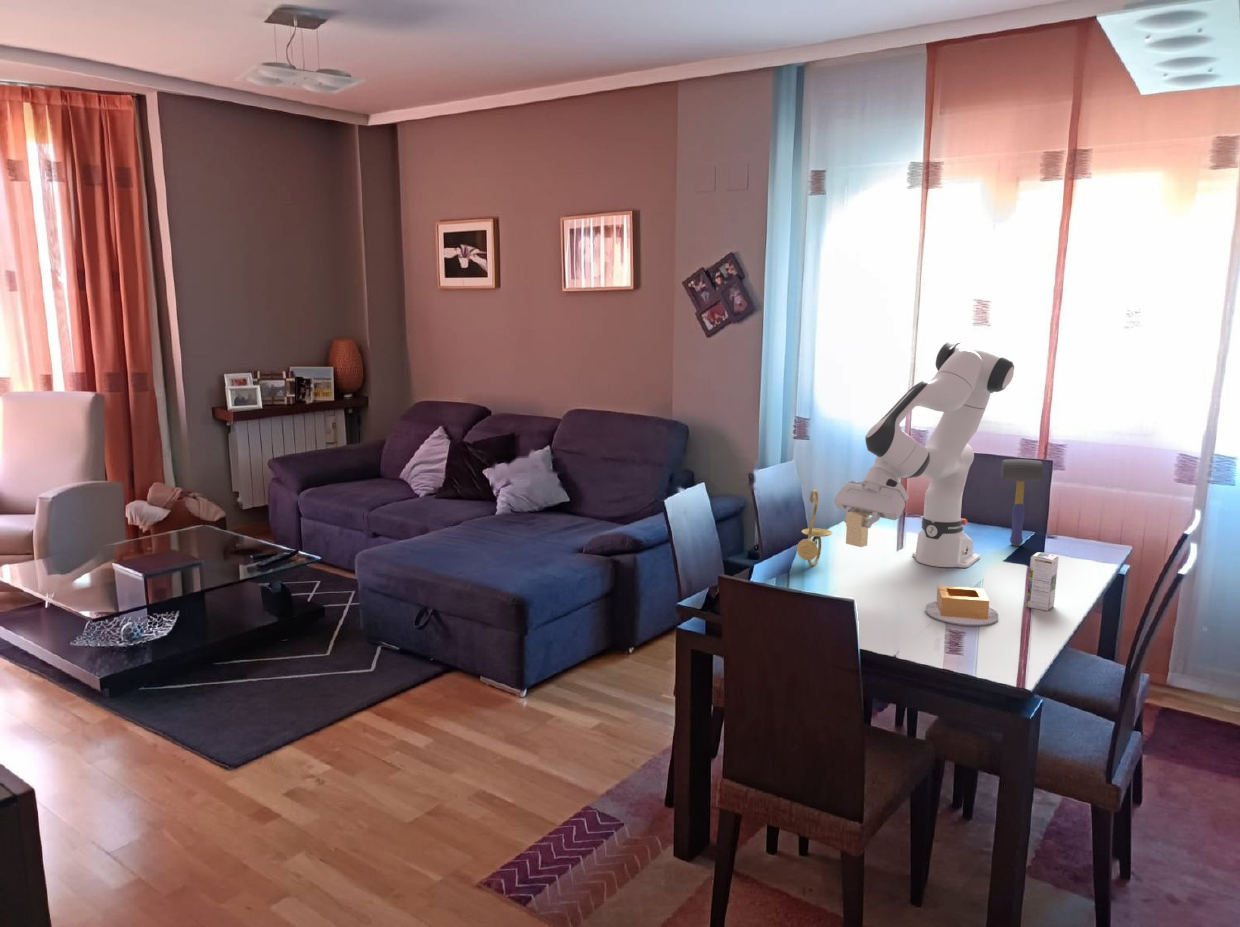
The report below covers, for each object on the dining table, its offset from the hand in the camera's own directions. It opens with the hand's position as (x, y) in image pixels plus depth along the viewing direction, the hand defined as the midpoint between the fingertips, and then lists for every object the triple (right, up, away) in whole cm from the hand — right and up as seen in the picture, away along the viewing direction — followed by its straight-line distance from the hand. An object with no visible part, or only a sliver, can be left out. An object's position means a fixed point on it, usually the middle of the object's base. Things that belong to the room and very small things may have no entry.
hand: (856, 524), depth 245 cm
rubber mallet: (+70, -11, +57) cm, 91 cm away
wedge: (0, -6, +1) cm, 6 cm away
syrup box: (+49, -22, -6) cm, 54 cm away
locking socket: (+25, -23, -12) cm, 36 cm away
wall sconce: (-5, -16, +34) cm, 38 cm away
